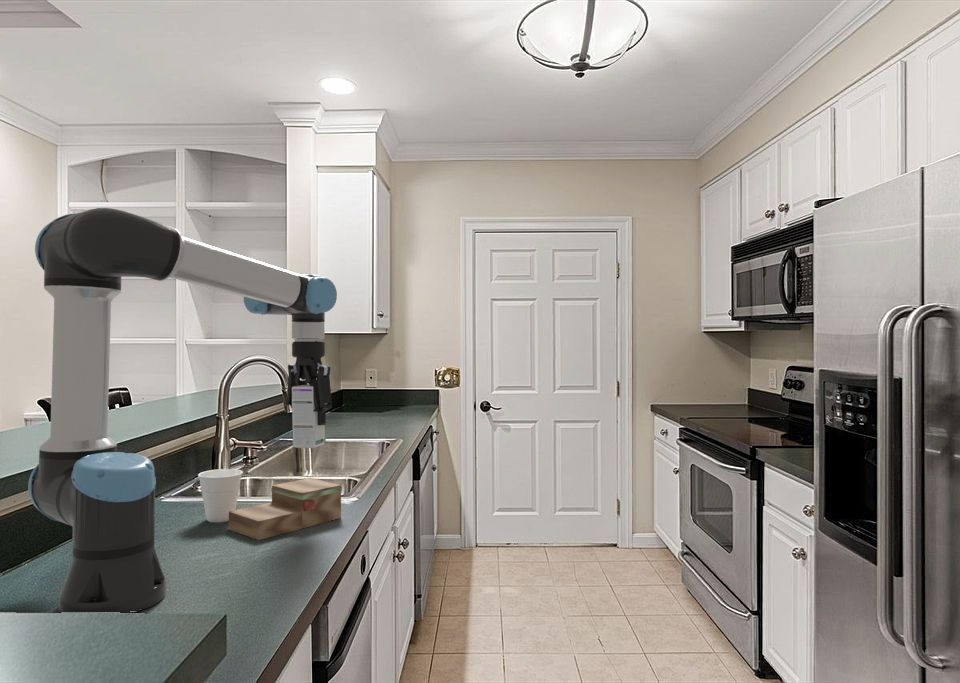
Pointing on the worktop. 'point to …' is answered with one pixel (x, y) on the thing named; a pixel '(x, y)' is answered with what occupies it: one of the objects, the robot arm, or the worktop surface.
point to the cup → (220, 492)
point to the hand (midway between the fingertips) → (308, 437)
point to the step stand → (289, 509)
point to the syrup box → (303, 417)
